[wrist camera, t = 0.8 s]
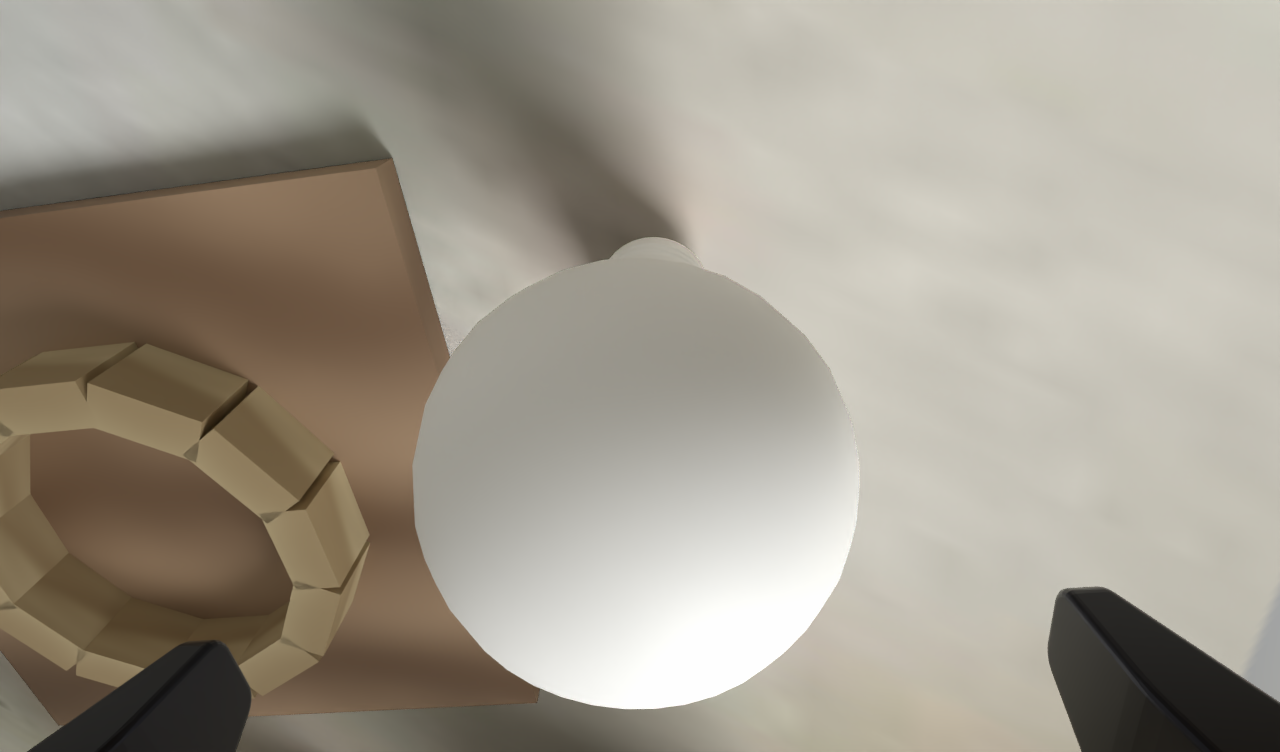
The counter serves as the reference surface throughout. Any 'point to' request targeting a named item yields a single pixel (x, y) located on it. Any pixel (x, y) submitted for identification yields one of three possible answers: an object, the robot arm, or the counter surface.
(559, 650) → the lightbulb
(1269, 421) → the counter surface
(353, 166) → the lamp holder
